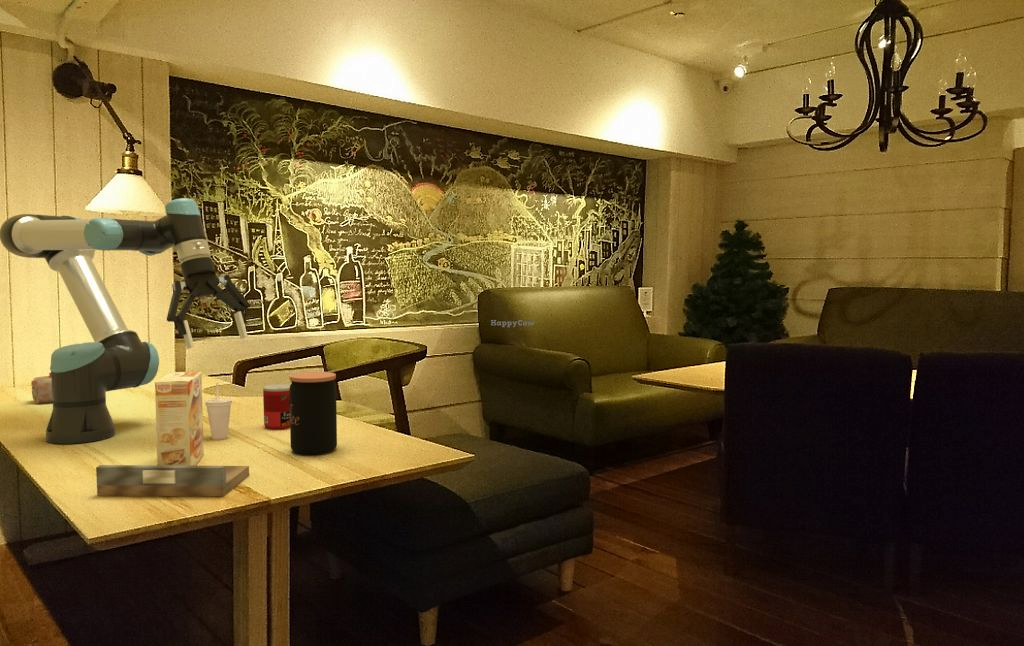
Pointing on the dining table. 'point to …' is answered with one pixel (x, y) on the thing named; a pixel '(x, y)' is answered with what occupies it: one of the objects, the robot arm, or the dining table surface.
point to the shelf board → (168, 480)
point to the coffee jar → (313, 413)
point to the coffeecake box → (179, 419)
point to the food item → (42, 390)
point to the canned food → (276, 406)
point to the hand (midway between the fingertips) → (218, 342)
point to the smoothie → (219, 415)
